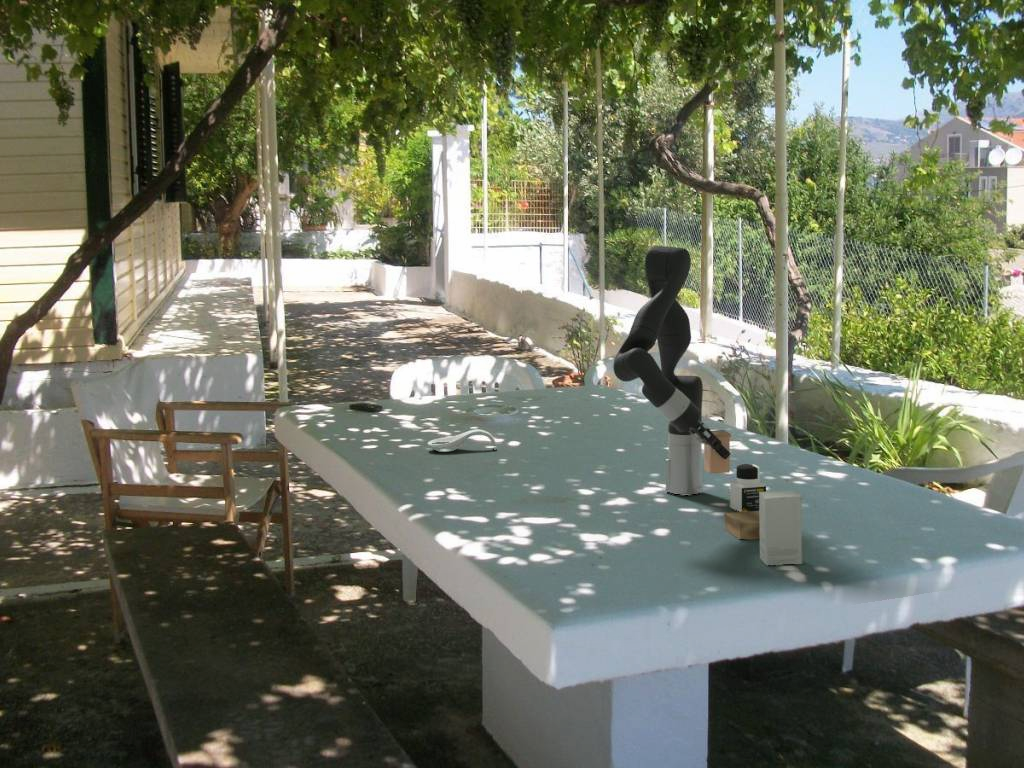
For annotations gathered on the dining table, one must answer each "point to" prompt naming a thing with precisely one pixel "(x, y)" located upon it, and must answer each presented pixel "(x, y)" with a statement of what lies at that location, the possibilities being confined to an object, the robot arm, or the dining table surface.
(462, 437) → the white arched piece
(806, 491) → the dining table surface
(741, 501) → the medicine bottle
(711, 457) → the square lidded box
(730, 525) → the teak block
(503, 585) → the dining table surface
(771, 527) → the skincare box
